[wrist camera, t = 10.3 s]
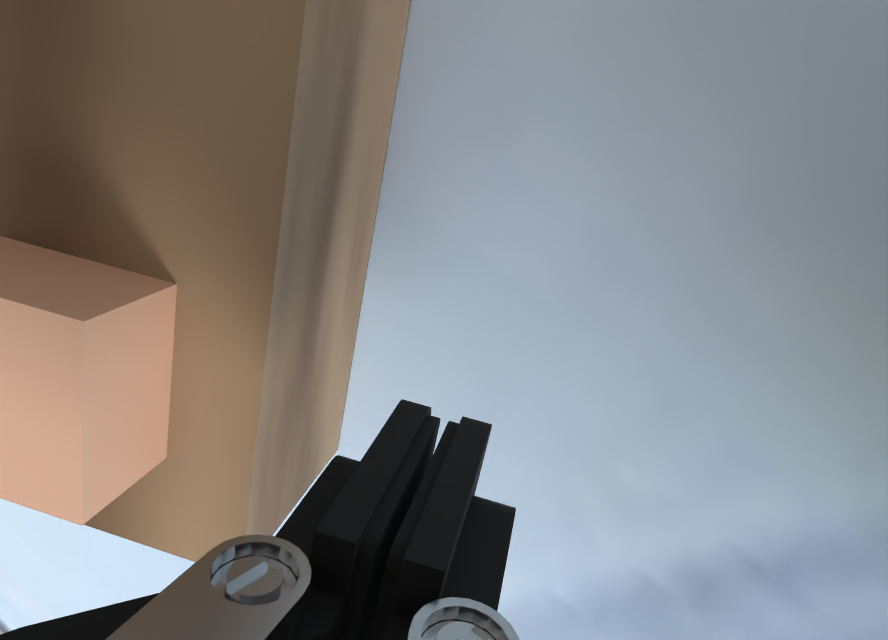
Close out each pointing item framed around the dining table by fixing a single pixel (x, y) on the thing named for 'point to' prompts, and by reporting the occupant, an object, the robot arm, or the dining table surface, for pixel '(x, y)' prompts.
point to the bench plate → (212, 219)
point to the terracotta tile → (80, 379)
